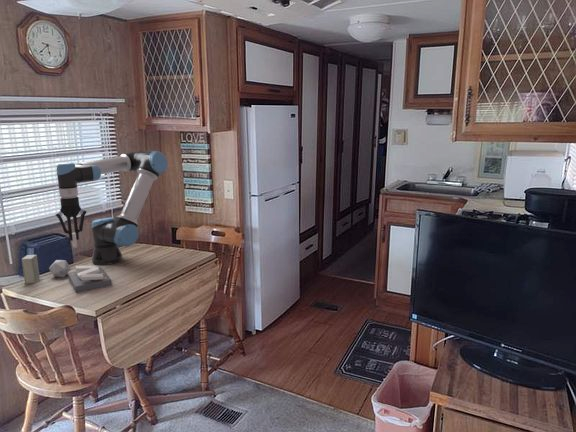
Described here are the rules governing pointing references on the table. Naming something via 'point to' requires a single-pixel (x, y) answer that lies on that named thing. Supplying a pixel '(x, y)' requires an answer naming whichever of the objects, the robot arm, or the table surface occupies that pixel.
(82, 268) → the rocker back
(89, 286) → the switch console
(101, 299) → the table surface
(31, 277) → the skincare box
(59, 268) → the die
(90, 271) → the rocker middle
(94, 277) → the rocker front
